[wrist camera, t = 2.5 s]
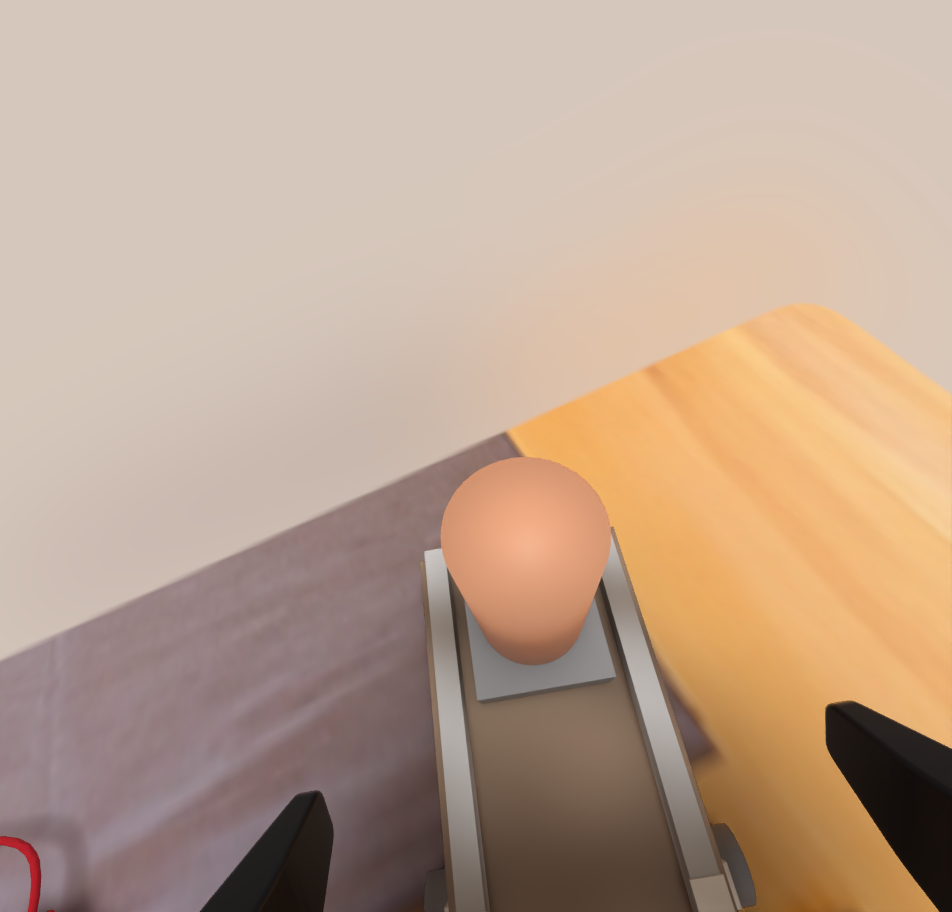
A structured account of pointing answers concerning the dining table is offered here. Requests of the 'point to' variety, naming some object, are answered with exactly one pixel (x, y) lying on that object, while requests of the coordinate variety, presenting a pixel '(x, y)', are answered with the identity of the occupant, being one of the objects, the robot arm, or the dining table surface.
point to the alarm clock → (34, 868)
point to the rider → (529, 577)
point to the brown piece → (569, 781)
